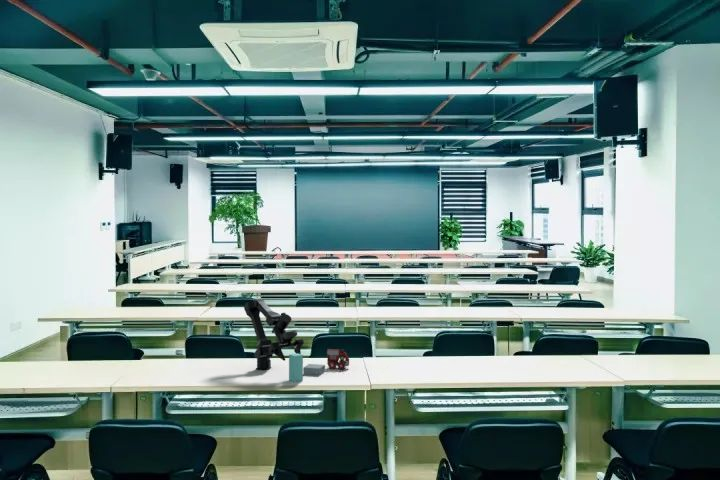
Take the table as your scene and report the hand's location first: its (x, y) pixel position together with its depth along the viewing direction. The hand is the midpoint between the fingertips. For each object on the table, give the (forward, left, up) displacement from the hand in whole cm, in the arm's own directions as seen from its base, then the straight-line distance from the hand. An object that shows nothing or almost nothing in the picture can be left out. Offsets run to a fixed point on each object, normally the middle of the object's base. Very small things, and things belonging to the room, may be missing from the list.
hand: (292, 359), depth 317 cm
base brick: (+6, +16, -10) cm, 20 cm away
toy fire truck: (+14, +31, -10) cm, 36 cm away
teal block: (+3, -2, -10) cm, 11 cm away
